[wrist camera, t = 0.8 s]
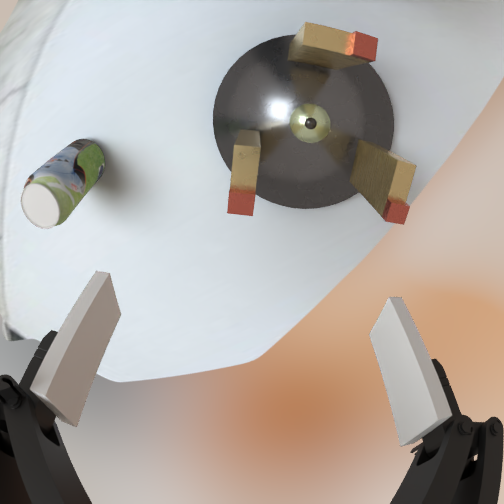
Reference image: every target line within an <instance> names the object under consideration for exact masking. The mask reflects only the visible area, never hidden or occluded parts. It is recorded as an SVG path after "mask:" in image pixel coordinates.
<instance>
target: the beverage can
mask: <svg viewBox="0 0 504 504" xmlns="http://www.w3.org/2000/svg"><path fill="white" fill-rule="evenodd" d="M104 168H105V159H104V155H103V153H102V151H101V149H100V148H99V146H98V145H96V144H95V143H94V142H92V141H90V140H87V139H79V140H76V141H74V142H72V143H71V144H70V145H68V146H67V147H66V148H64V149H63V150H61V151H60V152H59V153H58V154H56V155H55V156H54V157H52V158H51V159H50V160H49V161H47V162H46V163H45V164H44V165H42V166H41V167H40V168H39V169H38V170H36V171H35V172H34V173H33V174H32V175H31V176H30V177H29V178H28V179H27V181H26V183H25V186H24V190H23V192H22V195H21V206H22V209H23V212H24V214H25V216H26V217H27V218H28V220H29V221H30V222H31V223H32V224H34V225H35V226H37V227H39V228H42V229H49V228H52V227H53V226H57V225H60V224H61V223H63V222H64V221H65V220H66V219H67V218H68V217H69V215H70V214H71V213H72V211H73V210H74V209H75V207H76V206H77V205H78V204H79V202H80V201H81V200H82V199H83V197H84V196H85V195H86V194H87V192H88V191H89V190H90V189H91V188H92V186H93V185H94V184H95V183H96V182H97V181H98V179H99V178H100V177H101V176H102V174H103V171H104Z"/></svg>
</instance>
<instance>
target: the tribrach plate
mask: <svg viewBox="0 0 504 504" xmlns="http://www.w3.org/2000/svg"><path fill="white" fill-rule="evenodd" d="M295 36H296V35H288V36H282V37H278V38H274V39H271V40H268V41H266V42H263V43H261V44H259V45H257V46H256V47H254V48H252V49H251V50H249V51H248V52H246V53H245V54H244V55H243V56H241V57H240V58H239V59H238V60H237V61H236V62H235V63H234V65H233V66H232V67H231V68H230V69H229V71H228V72H227V74H226V75H225V77H224V79H223V81H222V83H221V85H220V87H219V89H218V92H217V96H216V99H215V104H214V110H213V127H214V135H215V139H216V143H217V146H218V149H219V151H220V154H221V156H222V158H223V160H224V162H225V163H226V165H227V167H228V168H229V169H230V171H231V172H232V162H233V152H234V144H235V142H236V139H237V137H238V135H239V132H240V130H241V129H244V130H253V131H259V134H260V144H261V150H260V158H259V166H258V174H257V182H256V190H255V194H256V195H258V196H260V197H261V198H263V199H266V200H268V201H270V202H272V203H276V204H279V205H282V206H286V207H292V208H302V209H309V208H320V207H326V206H330V205H333V204H337V203H339V202H341V201H344V200H346V199H348V198H350V197H352V196H353V195H355V194H357V193H358V192H359V191H358V190H357V189H356V188H355V187H354V186H353V185H352V184H351V183H350V182H349V181H350V176H351V172H352V168H353V163H354V159H355V154H356V150H357V145H358V140H359V139H361V140H365V141H369V142H373V143H375V144H377V145H379V146H381V147H383V148H385V149H387V150H389V151H390V147H391V144H392V139H393V132H394V118H393V109H392V105H391V101H390V98H389V95H388V92H387V90H386V87H385V86H384V84H383V82H382V80H381V78H380V77H379V75H378V74H377V73H376V71H375V70H374V69H373V68H372V66H371V65H370V64H369V63H363V64H359V65H354V66H350V67H346V68H342V69H338V70H333V69H329V68H325V67H320V66H316V65H311V64H306V63H300V62H294V61H288V53H289V45H290V43H291V41H292V40H293V39H294V37H295Z"/></svg>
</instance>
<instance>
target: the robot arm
mask: <svg viewBox="0 0 504 504" xmlns="http://www.w3.org/2000/svg"><path fill="white" fill-rule="evenodd" d="M120 316H121V312H120V309H119V306H118V302H117V299H116V295H115V291H114V288H113V284H112V280H111V276H110V273H106V272H99V271H96V272H95V274H94V275H93V276H92V278H91V279H90V281H89V283H88V284H87V286H86V287H85V289H84V290H83V292H82V293H81V295H80V296H79V298H78V300H77V301H76V303H75V305H74V306H73V308H72V309H71V311H70V313H69V314H68V316H67V318H66V320H65V321H64V323H63V325H62V326H61V328H60V330H59V332H56V331H53V330H51V331H50V332H49V333H48V334H47V335H46V336H45V337H44V338H43V339H42V341H41V343H40V345H39V346H38V349H37V350H36V352H35V354H34V357H33V358H32V360H31V361H30V363H29V365H28V368H27V369H26V371H25V373H24V376H23V378H22V380H21V382H20V383H19V385H18V384H17V382H16V381H15V380H14V379H13V378H12V377H11V376H9V375H1V376H0V504H92V502H91V501H90V499H89V497H88V495H87V493H86V492H85V490H84V488H83V486H82V484H81V482H80V480H79V478H78V476H77V474H76V471H75V469H74V467H73V465H72V463H71V460H70V458H69V456H68V453H67V451H66V448H65V446H64V443H63V441H62V438H61V435H60V433H59V430H58V427H57V424H56V423H55V421H54V420H55V418H56V416H57V417H58V418H59V419H60V420H61V421H63V422H65V423H67V424H70V425H72V426H75V427H77V425H78V422H79V419H80V416H81V413H82V410H83V407H84V405H85V402H86V399H87V396H88V393H89V391H90V388H91V385H92V383H93V380H94V378H95V375H96V372H97V370H98V367H99V365H100V362H101V360H102V357H103V355H104V353H105V350H106V348H107V345H108V343H109V341H110V339H111V336H112V334H113V332H114V329H115V327H116V325H117V323H118V321H119V318H120ZM369 336H370V339H371V342H372V345H373V348H374V351H375V354H376V358H377V361H378V364H379V367H380V371H381V374H382V377H383V381H384V384H385V387H386V391H387V395H388V398H389V402H390V406H391V409H392V413H393V417H394V421H395V425H396V429H397V433H398V438H399V442H400V446H405V445H409V444H413V443H415V442H417V441H418V440H420V439H421V438H422V439H423V443H421V444H419V445H418V446H416V447H415V448H413V449H412V451H411V453H413V452H415V451H416V450H418V451H417V452H416V453H415V458H414V460H413V462H412V464H411V466H410V468H409V470H408V472H407V474H406V476H405V478H404V480H403V482H402V483H401V485H400V487H399V489H398V491H397V492H396V494H395V496H394V498H393V499H392V501H391V503H390V504H497V502H498V496H499V490H500V482H501V472H502V462H503V425H502V423H501V421H500V420H499V419H498V418H496V417H491V418H490V419H488V420H487V421H486V422H472V420H471V419H470V418H469V417H468V416H465V415H462V414H461V412H460V410H459V407H458V404H457V401H456V399H455V396H454V393H453V391H452V388H451V386H450V385H449V381H448V378H446V377H447V376H446V373H445V371H444V369H443V367H442V365H441V364H440V363H439V362H438V361H437V360H436V359H431V358H430V356H429V354H428V351H427V349H426V347H425V345H424V342H423V341H422V338H421V336H420V334H419V332H418V330H417V327H416V325H415V323H414V321H413V319H412V317H411V315H410V313H409V311H408V309H407V307H406V305H405V303H404V301H403V299H402V297H389V298H388V300H387V302H386V304H385V306H384V308H383V310H382V312H381V314H380V316H379V317H378V319H377V321H376V323H375V325H374V326H373V328H372V330H371V332H370V334H369ZM477 454H478V457H477V460H476V461H474V456H475V455H477Z"/></svg>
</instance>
